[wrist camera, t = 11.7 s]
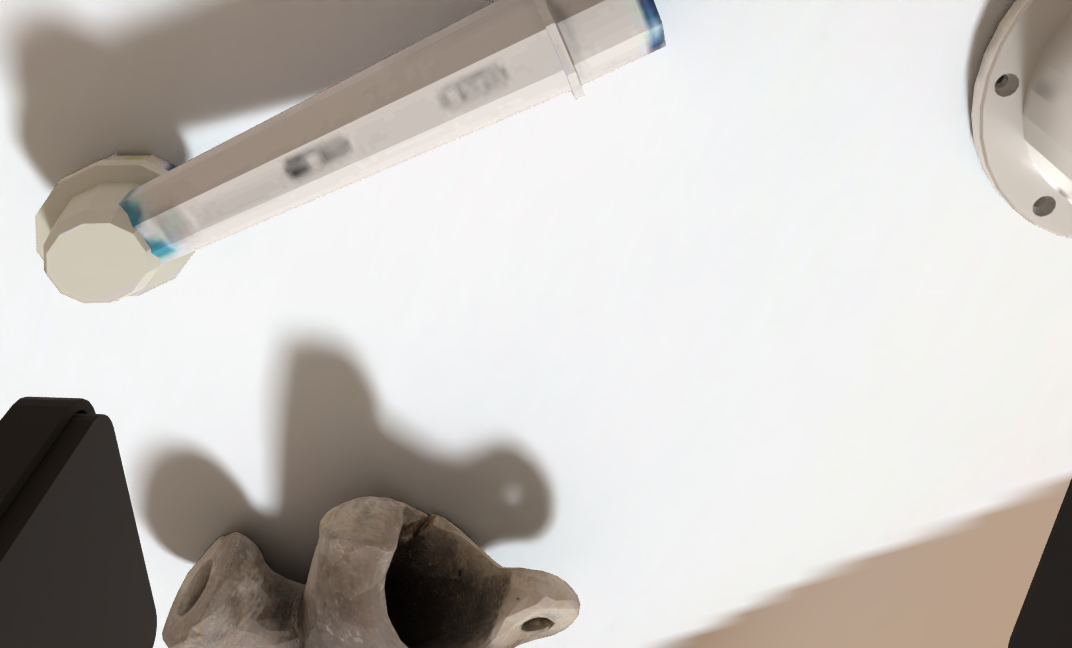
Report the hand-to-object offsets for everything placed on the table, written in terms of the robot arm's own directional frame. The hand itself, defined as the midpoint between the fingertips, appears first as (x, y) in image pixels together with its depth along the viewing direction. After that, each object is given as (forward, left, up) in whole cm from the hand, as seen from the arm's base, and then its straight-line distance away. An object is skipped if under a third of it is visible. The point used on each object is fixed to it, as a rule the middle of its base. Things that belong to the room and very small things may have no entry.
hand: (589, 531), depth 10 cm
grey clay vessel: (+8, +29, -31) cm, 43 cm away
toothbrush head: (+8, +6, -31) cm, 33 cm away
